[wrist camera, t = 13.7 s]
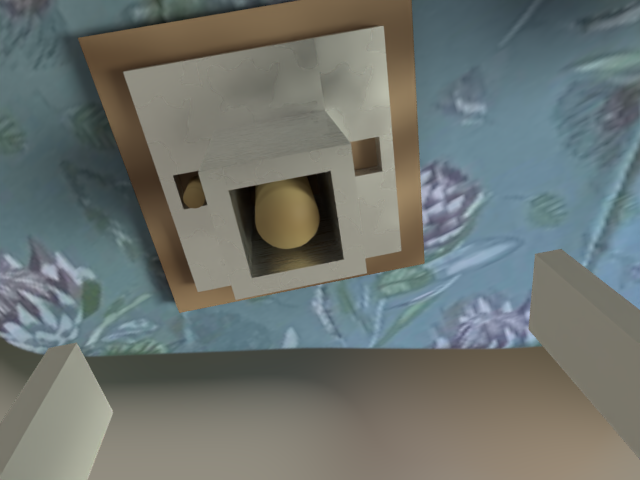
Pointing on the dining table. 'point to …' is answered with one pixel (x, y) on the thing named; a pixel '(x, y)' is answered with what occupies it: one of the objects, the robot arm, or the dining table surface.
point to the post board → (245, 37)
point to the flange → (274, 155)
